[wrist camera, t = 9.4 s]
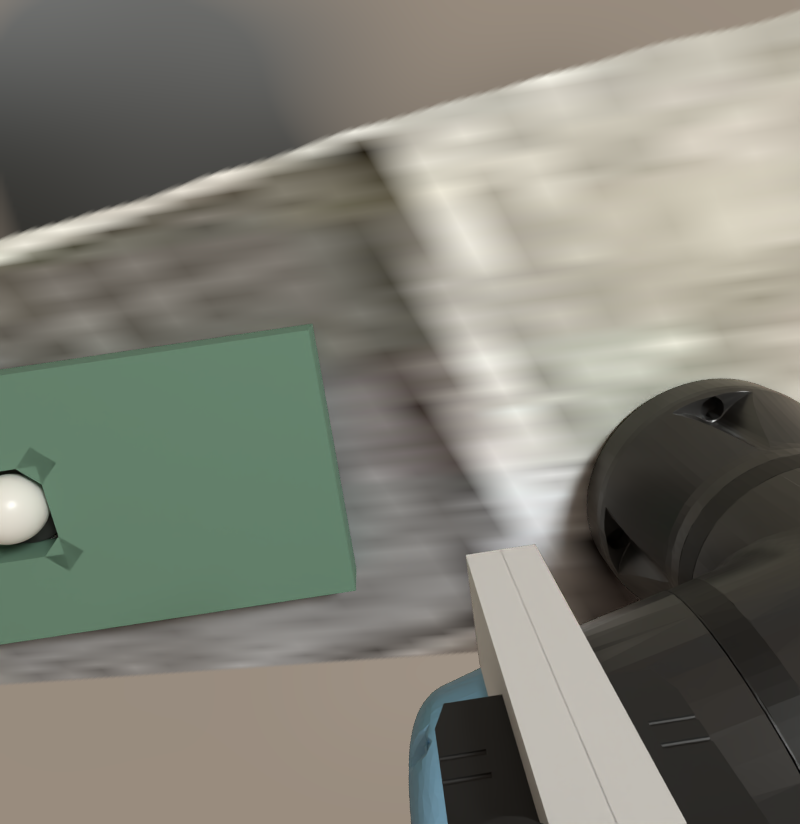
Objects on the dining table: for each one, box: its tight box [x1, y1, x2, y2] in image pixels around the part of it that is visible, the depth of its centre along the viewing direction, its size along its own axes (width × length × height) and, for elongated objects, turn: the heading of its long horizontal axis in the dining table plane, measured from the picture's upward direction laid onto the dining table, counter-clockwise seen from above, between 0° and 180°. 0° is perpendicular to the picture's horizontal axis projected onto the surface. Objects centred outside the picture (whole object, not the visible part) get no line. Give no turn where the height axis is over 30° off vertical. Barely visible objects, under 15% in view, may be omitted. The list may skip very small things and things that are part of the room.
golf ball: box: [0, 474, 50, 545], centre depth 36 cm, size 4×4×4 cm
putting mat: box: [0, 324, 356, 645], centre depth 37 cm, size 26×16×2 cm, turn 98°
